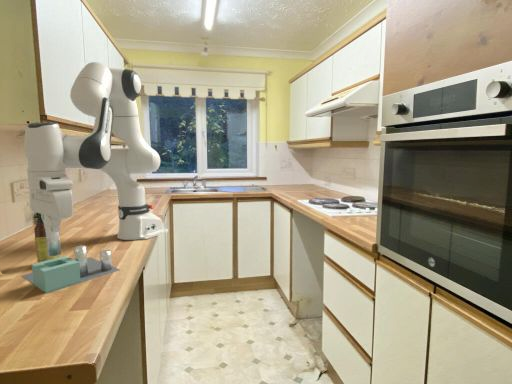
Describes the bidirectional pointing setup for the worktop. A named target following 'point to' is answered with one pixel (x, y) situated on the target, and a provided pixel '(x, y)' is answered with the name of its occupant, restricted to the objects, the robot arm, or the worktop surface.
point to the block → (56, 273)
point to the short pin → (105, 260)
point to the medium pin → (81, 259)
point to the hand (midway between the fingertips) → (52, 230)
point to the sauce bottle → (41, 241)
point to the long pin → (52, 238)
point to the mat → (93, 272)
